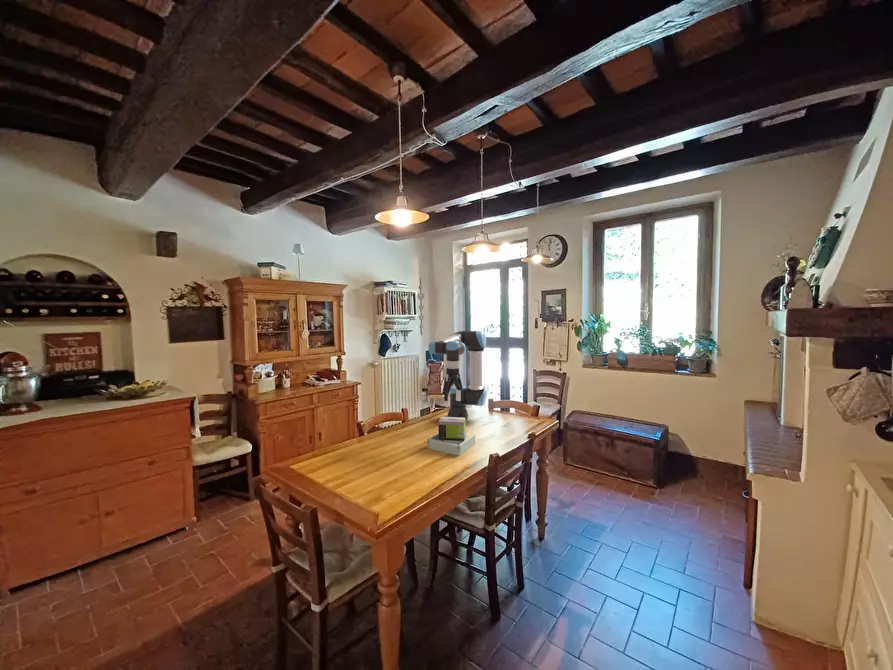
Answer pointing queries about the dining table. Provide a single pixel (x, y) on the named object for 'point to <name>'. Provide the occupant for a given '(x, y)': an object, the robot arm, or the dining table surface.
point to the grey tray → (450, 445)
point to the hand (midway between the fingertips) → (452, 403)
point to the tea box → (452, 430)
